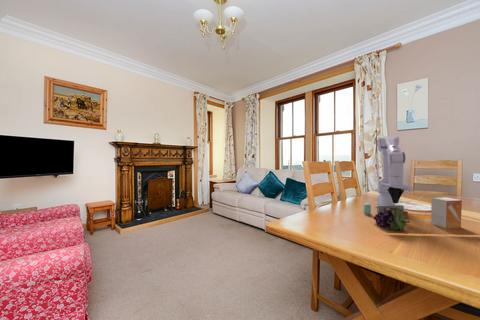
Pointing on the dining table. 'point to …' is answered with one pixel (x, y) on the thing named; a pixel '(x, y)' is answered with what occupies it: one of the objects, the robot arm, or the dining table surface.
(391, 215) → the fruit
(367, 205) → the dowel
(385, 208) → the block
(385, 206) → the board
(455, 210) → the small box
